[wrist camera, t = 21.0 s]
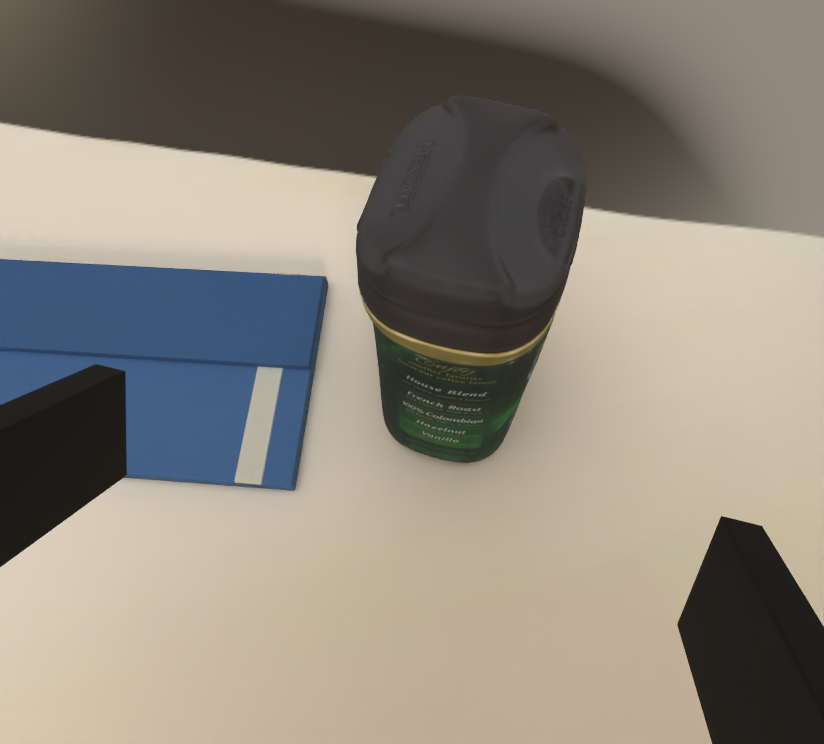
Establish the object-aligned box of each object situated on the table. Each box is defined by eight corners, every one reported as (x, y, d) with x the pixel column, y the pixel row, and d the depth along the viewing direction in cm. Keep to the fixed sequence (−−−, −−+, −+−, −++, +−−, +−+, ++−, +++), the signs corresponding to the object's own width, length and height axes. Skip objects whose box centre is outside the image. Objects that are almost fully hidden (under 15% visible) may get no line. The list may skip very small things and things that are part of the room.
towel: (328, 284, 40) (324, 270, 38) (294, 490, 34) (288, 484, 33) (-38, 264, 42) (-55, 251, 40) (-126, 458, 36) (-150, 451, 34)
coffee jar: (500, 480, 34) (567, 330, 17) (370, 443, 35) (312, 269, 18) (535, 336, 38) (619, 95, 21) (416, 307, 39) (403, 56, 22)
